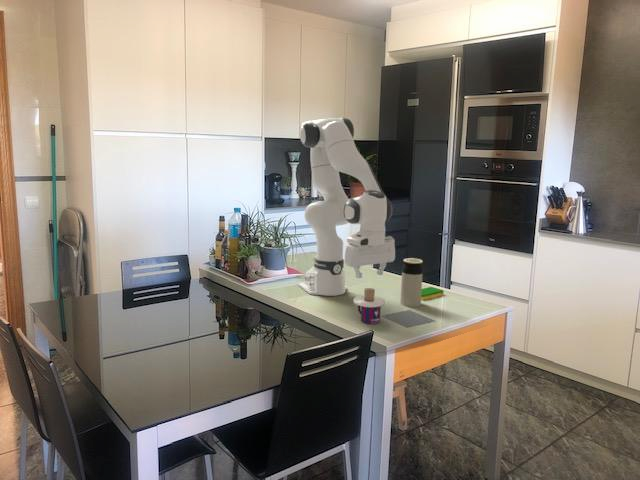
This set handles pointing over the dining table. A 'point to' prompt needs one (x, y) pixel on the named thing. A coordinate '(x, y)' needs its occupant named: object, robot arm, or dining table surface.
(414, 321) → the drying mat
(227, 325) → the dining table surface
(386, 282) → the dining table surface
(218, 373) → the dining table surface
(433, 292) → the dish sponge
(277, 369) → the dining table surface
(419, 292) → the travel mug
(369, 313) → the cup
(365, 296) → the cover lid
